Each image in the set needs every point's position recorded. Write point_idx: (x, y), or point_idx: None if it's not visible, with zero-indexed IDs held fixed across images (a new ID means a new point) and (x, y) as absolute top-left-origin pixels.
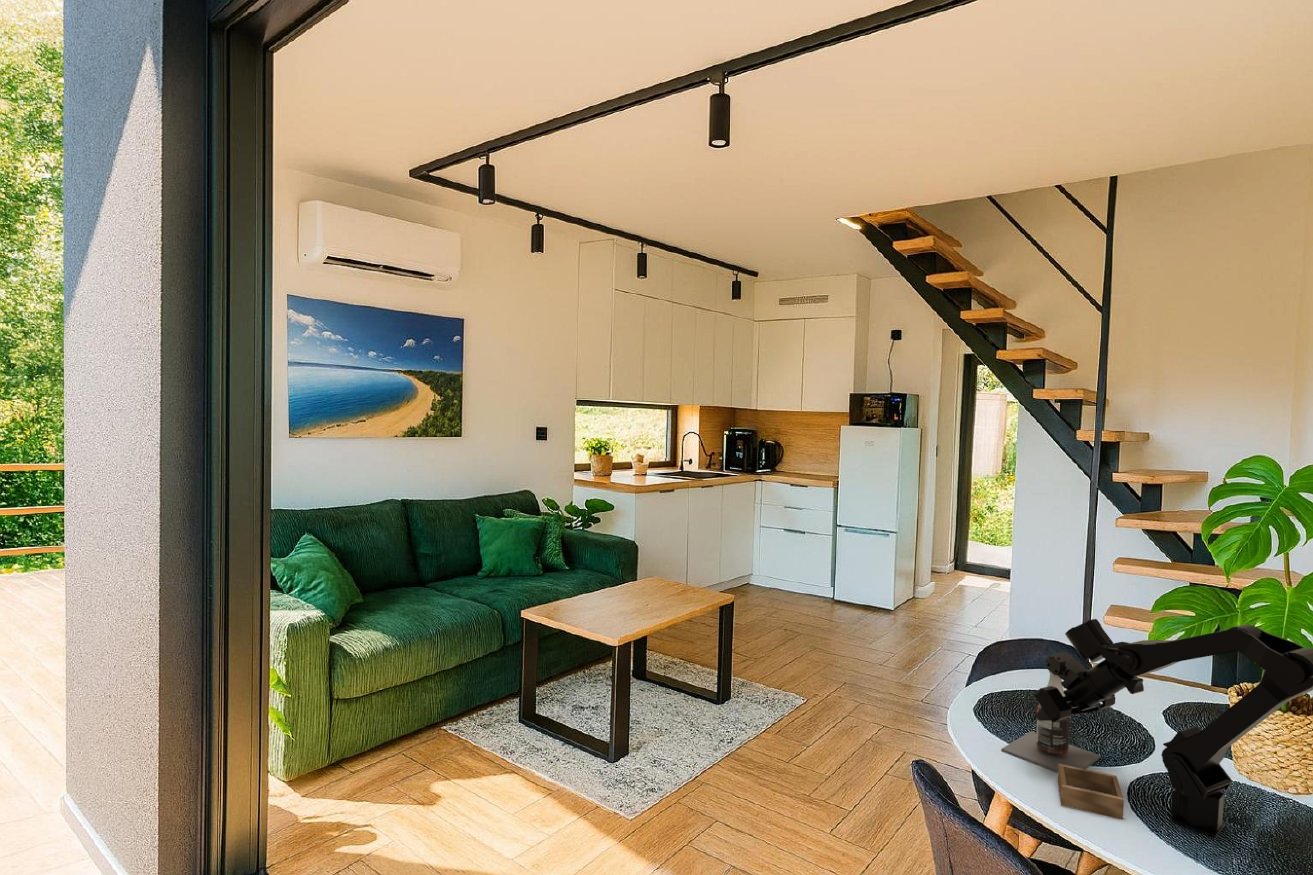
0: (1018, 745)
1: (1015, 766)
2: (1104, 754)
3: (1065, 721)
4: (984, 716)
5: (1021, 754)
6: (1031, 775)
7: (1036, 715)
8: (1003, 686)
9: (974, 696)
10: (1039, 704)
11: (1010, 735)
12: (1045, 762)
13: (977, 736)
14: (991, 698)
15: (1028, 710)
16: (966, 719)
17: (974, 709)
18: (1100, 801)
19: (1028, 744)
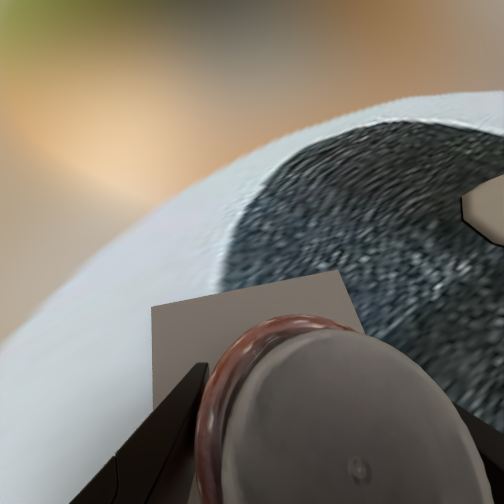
0: (219, 314)
1: (82, 403)
2: None
3: None
4: (298, 175)
5: (166, 362)
6: (51, 487)
7: (191, 370)
8: (457, 114)
9: (357, 119)
10: (252, 338)
11: (269, 258)
12: None
13: (183, 229)
14: (387, 134)
15: (432, 192)
16: (244, 170)
17: (306, 150)
18: None
19: (254, 323)
